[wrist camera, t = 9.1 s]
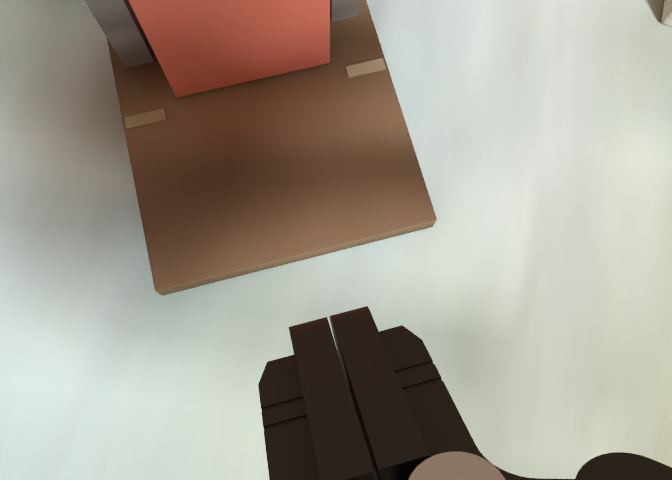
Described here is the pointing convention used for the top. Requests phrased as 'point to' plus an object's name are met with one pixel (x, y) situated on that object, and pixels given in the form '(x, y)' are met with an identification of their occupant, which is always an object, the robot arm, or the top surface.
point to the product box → (667, 13)
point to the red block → (233, 39)
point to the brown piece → (265, 156)
